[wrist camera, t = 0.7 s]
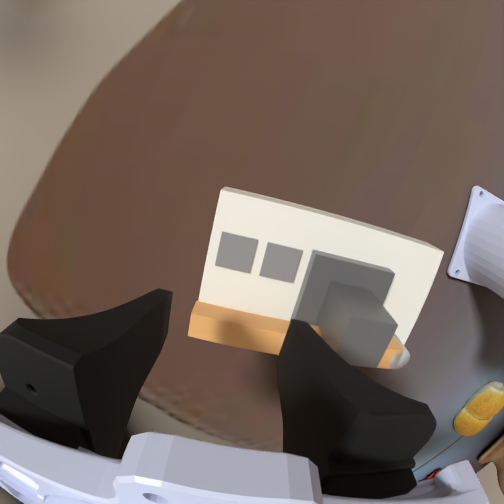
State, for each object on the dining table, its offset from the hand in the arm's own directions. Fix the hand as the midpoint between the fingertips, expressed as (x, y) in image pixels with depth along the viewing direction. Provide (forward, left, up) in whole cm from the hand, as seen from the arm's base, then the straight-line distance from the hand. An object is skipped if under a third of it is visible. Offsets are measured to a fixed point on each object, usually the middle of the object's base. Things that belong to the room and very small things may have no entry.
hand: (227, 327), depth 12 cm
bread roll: (-36, +13, -10) cm, 40 cm away
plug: (-7, 0, -9) cm, 12 cm away
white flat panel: (-6, 0, -9) cm, 11 cm away
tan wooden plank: (-5, +3, -7) cm, 9 cm away
